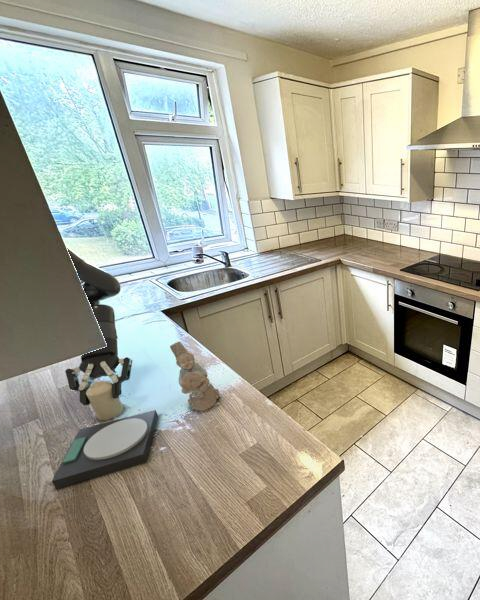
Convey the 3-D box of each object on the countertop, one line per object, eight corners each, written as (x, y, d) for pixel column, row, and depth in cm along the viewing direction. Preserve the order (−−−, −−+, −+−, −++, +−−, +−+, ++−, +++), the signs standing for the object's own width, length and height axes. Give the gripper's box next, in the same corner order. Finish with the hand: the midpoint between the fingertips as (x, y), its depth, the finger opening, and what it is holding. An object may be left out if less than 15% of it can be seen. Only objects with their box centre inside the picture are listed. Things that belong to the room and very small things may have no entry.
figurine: (186, 399, 96) (167, 340, 88) (218, 388, 100) (202, 331, 92) (188, 417, 89) (167, 355, 81) (222, 405, 93) (206, 345, 85)
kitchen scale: (55, 489, 70) (49, 478, 69) (83, 436, 83) (78, 426, 82) (146, 461, 76) (142, 451, 75) (158, 416, 89) (154, 407, 88)
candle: (102, 423, 87) (88, 393, 83) (94, 415, 90) (80, 386, 86) (126, 411, 91) (114, 382, 87) (118, 403, 94) (106, 375, 90)
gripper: (57, 343, 85) (57, 408, 80) (125, 331, 91) (129, 391, 86) (73, 350, 92) (74, 410, 87) (135, 339, 98) (139, 395, 93)
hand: (101, 400), depth 87 cm, fingers closed on candle, 5 cm apart
